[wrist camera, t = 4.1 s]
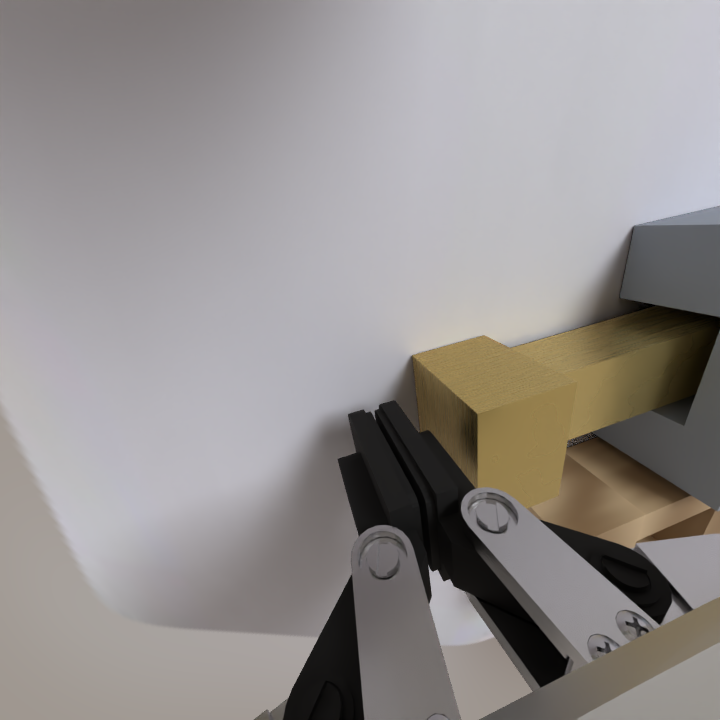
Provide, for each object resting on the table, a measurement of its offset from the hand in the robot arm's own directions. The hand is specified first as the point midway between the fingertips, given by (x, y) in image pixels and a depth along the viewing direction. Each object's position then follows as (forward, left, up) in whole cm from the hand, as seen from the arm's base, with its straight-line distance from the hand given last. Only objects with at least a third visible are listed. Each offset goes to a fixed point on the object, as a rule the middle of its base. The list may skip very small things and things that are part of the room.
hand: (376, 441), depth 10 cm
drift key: (-9, 0, -1) cm, 9 cm away
